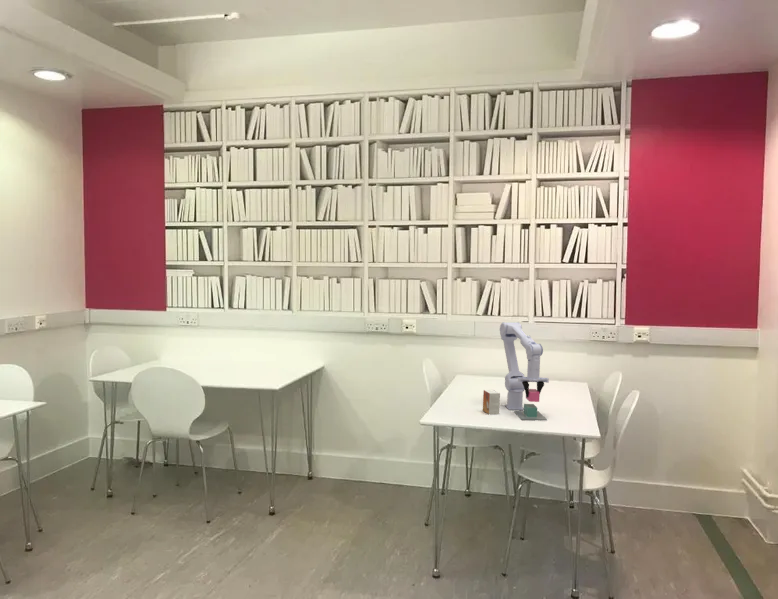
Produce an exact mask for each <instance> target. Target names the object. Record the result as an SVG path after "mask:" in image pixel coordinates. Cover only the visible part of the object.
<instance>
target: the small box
mask: <svg viewBox="0 0 778 599" xmlns="http://www.w3.org/2000/svg"><path fill="white" fill-rule="evenodd" d="M482 397H483V399H482V411H483V412H485V413H486V414H487V413H488V414H487V415H489V414H490V415H500V403H501V402H500V399H501V393H500V392H498V391H496V390H494V389H483V395H482Z"/></svg>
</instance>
